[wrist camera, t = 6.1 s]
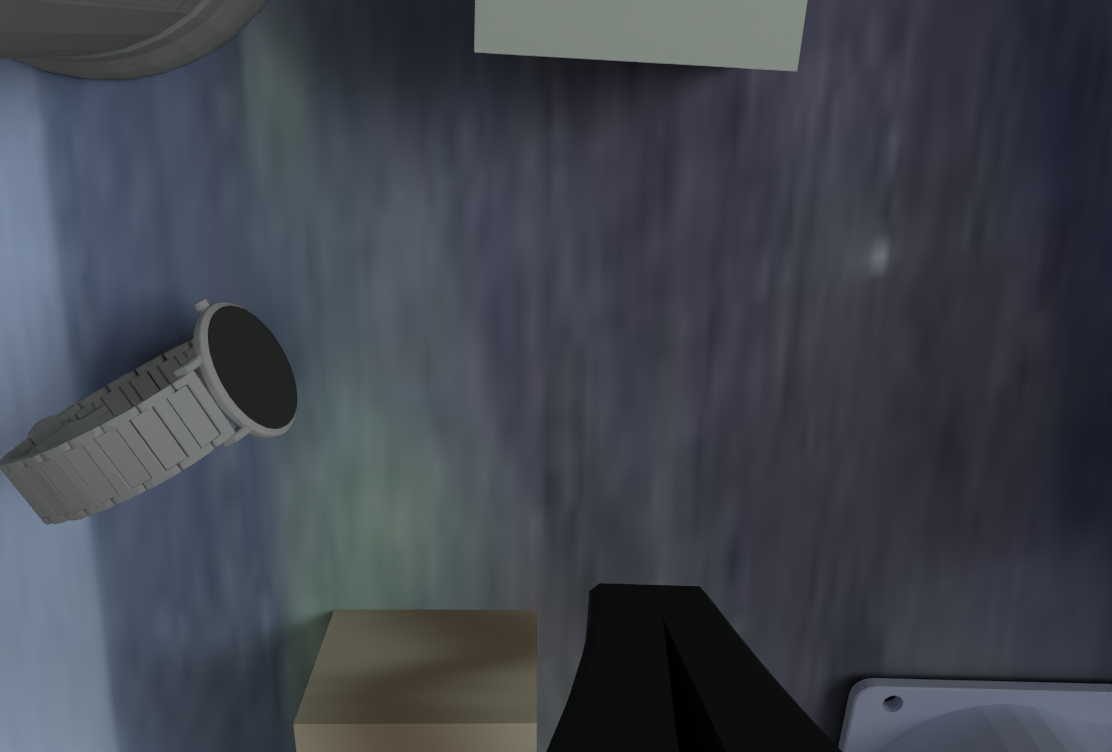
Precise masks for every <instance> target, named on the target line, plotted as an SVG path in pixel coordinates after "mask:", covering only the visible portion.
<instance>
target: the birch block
mask: <svg viewBox="0 0 1112 752" xmlns="http://www.w3.org/2000/svg"><path fill="white" fill-rule="evenodd" d="M293 726H294V735H295V743H296V752H537V610H334V612H333V614H332V617H331V620H330V623H329V626H328V628H327V631H326V634H325V637H324V640H323V642H322V645H321V648H320V651H319V654H318V656H317V659H316V662H315V665H314V668H313V670H312V673H311V676H310V679H309V681H308V684H307V687H306V690H305V693H304V695H303V698H302V701H301V704H300V707H299V709H298V712H297V715H296V718H295V721H294V723H293Z"/></svg>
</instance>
